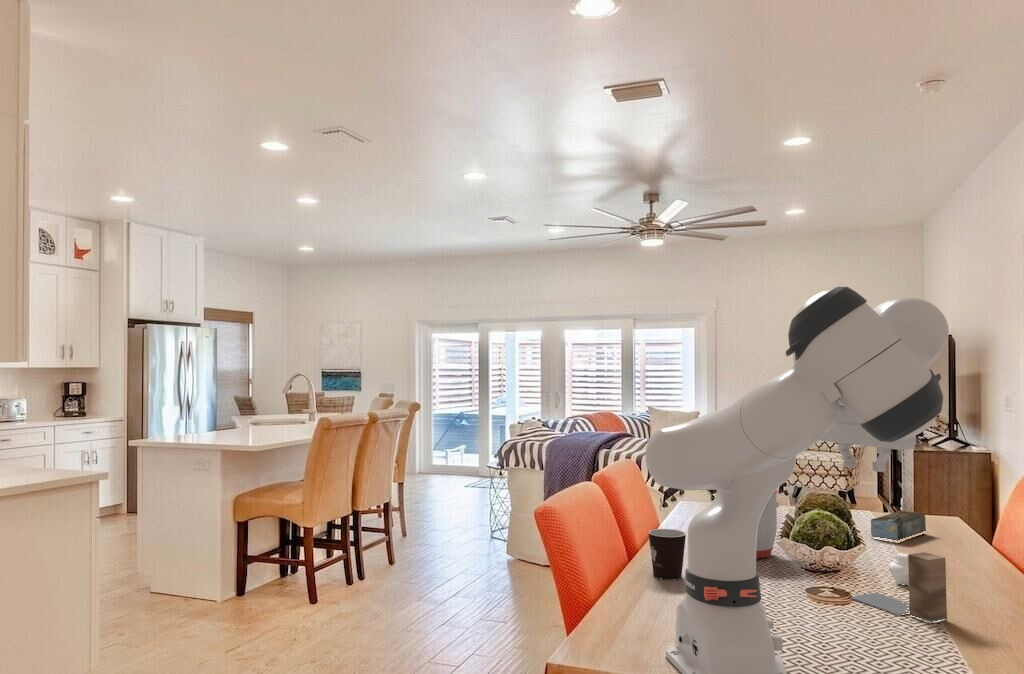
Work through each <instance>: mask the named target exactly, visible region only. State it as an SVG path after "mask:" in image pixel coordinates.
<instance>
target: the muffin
mask: <svg viewBox="0 0 1024 674" xmlns="http://www.w3.org/2000/svg"><path fill="white" fill-rule="evenodd" d="M894 556H895V557H894V558H893V561H891V563H889V565H888V569H889V571H890V574H891V577H893V580H894V582H895V583H896V584H897V583H899V584H904V585H909V568H908V553H905V552H901V553H900V552H899V553H897V554H895V555H894Z"/></svg>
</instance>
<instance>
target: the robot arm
mask: <svg viewBox="0 0 1024 674" xmlns="http://www.w3.org/2000/svg"><path fill="white" fill-rule="evenodd" d="M867 302H868V300H867V299H865V298H864V296H862V295H861V294H859V293H858V292H857V291H855V290H854V289H852V288H850V287H848V286H836V287H833V288H830V289H826V290H823V291H821V292H818V293H816V294H814V295H812V296H811V297H810V298H808V299H807V300H806V301H805V302H803V304H802V305H801V306H800V307H799V309H798V310H797V312H796V314H795V315H794V316H793V318H791V321H790V324H789V327H788V328H789V329H788V334H787V335H788V337H787V339H788V345H789V347H788V349H787V350H785V353H784V354H785V356H786V357H790V356H791V355H792V360H793V364H794V365H793V366H791V367H790V368H789V369H788V370H786V371H785V372H782V373H780V374H778V375H776V376H775V377H773V378H771V379H768V380H767V381H764V382H762V383H761V384H759V385H757V386H756V387H755V388H754V389H752V390H750V391H749V392H748V393H747V394H746V395H744V396H743V397H741V398H740V399H738V400H737V401H736V402H734V403H733V404H731V405H730V406H726V407H725V408H721V409H719V410H716V411H713V412H709V413H706V414H704V415H702V416H699V417H697V418H694V419H692V420H687V421H685V422H682V423H679V424H675V425H672V426H671V425H670V426H666V427H663V428H658V429H656V430H655V431H654V432H653V434H651V436H650V438H649V440H648V442H647V445H646V448H645V457H644V458H645V465H646V467H647V471H648V473H649V474H650V476H651V478H652V479H653V480H654V481H655V483H657V484H658V486H661V487H666V488H670V489H675V490H676V489H677V490H683V491H710V490H711V491H713V490H715V491H716V490H718V491H717V495H716V494H715V497H714V499H713V501H712V503H710V505H709V506H708V507H707V508H705V509H703V510H701V511H700V512H698V513H697V514H696V515H694V516H693V518H692V519H691V520H690V522H689V524H688V528H687V568H686V569H685V576H684V583H685V584H684V585H685V587H684V590H685V592H686V593H685V596H684V598H683V599H682V600H681V601H680V602H679V603H678V604H677V605H676V611H675V612H676V616H675V640H674V641H675V644H674V645H673V646H671V647H668V648H666V649H665V658H666V659H667V660H669V662H670V663H671V664H672V665H674V667H675V668H676V669H677V670H678V671H679V672H680V673H681V674H788V673H787V671H786V667H785V664H784V661H783V659H782V656H781V653H780V652H781V651H783V637H782V636H781V635H779V634H772V632H771V630H773V629H774V621H773V619H768V617H767V613H766V605H764V604H763V603H762V602H761V600H762V593H761V590H762V588H761V582H760V577H759V574H758V572H757V558H756V546H757V531H758V525H759V521H760V518H761V515H762V512H763V510H764V508H765V506H766V504H767V502H768V500H769V499H770V497H771V496H772V494H773V493H774V492H775V491H776V490H777V491H778V489H779V488H780V487H781V486H783V484H784V483H786V482H788V480H789V479H790V478H791V476H792V474H793V473H794V471H795V468H796V463H797V462H796V461H797V456H798V455H800V454H802V453H804V452H806V451H807V450H809V449H810V448H811V447H813V446H814V445H815V444H816V443H818V442H819V441H820V442H828V443H837V449H838V451H839V453H840V455H841V456H842V458H843V459H842V461H843V467H846V468H856V467H857V457H853V455H852V452H851V450H850V449H852V448H853V447H852V445H855V446H863V447H872V448H876V454H878V457H877V458H876V461H872V462H871V465H872V468H871V469H872V471H873V472H879V473H883V472H884V473H885V472H886V470H887V469H886V468H887V467H886V466H887V465H886V463H887V462H888V460H889V458H890V457H891V455H892V450H899V451H908V450H909V451H910V450H913V449H914V448H915V446H916V445H917V435H919V434H921V433H923V432H924V431H926V430H927V429H928V428H929V427H930V426H931V425H932V424H933V423H934V421H935V420H936V419H937V417H938V415H939V414H940V413H942V411H943V402H944V396H943V392H942V391H943V390H942V388H941V386H940V380H941V379H942V376H941V373H940V372H939V373H937V374H935V373H934V371H933V370H932V369H931V368H929V367H930V366H931V364H933V363H934V362H935V361H936V360H937V359H938V358H939V357H940V356H941V354H942V353H943V351H944V350H945V348H946V346H947V343H948V339H949V333H950V332H949V330H950V329H949V324H948V321H947V318H946V317H945V315H944V313H943V312H942V311H941V310H940V309H939V308H938V307H937V306H936V305H934V304H933V303H931V302H929V301H928V300H924V299H920V298H916V297H899V298H897V297H896V298H894V299H890V300H887V301H884V302H882V303H880V304H878V305H877V306H875V307H874V308H872V307H871V306H870V305H868V304H867Z"/></svg>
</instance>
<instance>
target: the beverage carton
mask: <svg viewBox="0 0 1024 674" xmlns="http://www.w3.org/2000/svg"><path fill="white" fill-rule="evenodd" d="M923 531H926V532H927V529H926V514H925V513H921V512H920V513H919V512H914V511H904V510H898V511H895V512H892V513H889V514H886V515H882V516H879V517H876V518H871V519H870V535H871V537H872V536H873V537H880V538H887V539H892V540H897V541H898V540H900V539H903V538H906V537H909V536H912V535H915V534H918V533H921V532H923Z"/></svg>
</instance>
